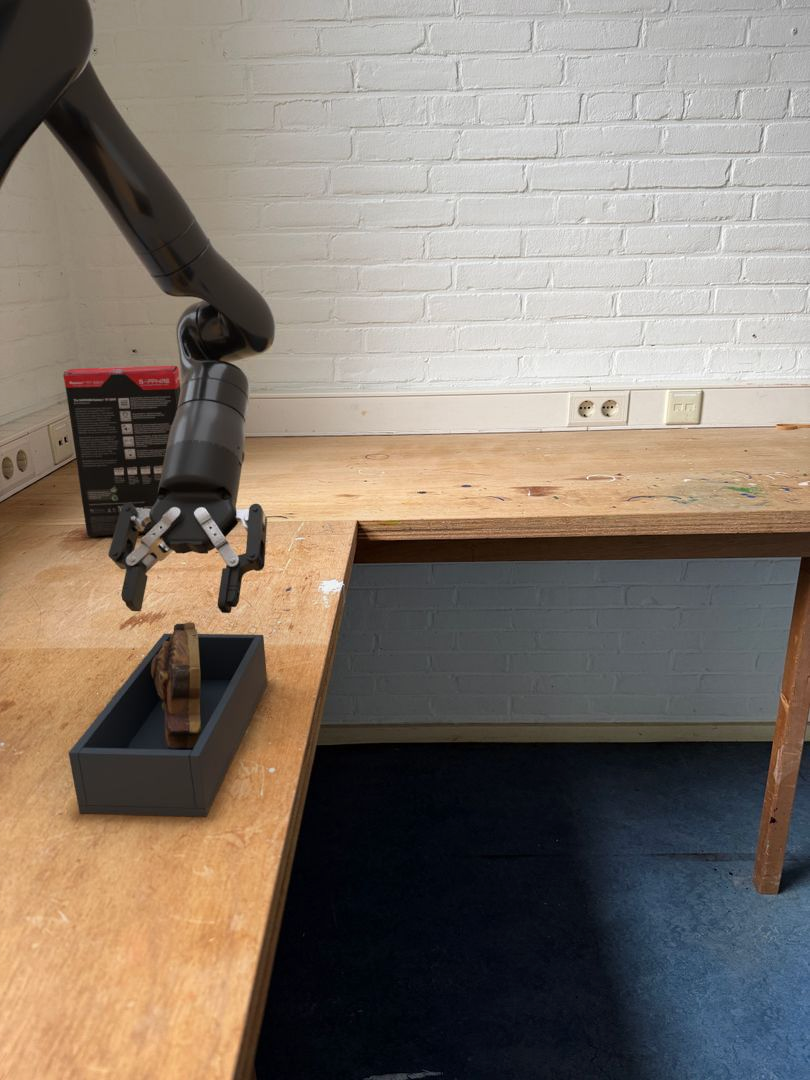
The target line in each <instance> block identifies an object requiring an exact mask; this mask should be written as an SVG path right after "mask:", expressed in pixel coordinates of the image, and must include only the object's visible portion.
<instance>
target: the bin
mask: <svg viewBox="0 0 810 1080" xmlns="http://www.w3.org/2000/svg"><path fill="white" fill-rule="evenodd" d="M172 634H173V633H163V634H162V635H161V636H160V638H159V639H158V640H157V642H155V644H154V645H153V647H152V648H151V649H150V650H149V652H148V653H147V654H146V655H145V656H144V658H143V659H142V660H141V661H140V663H139V664H138V665H137V666H136V667H135V669H134V670H133V672H132V673H131V674H130V675H129V677H128V678H127V679H126V680H125V682H123V684H122V685H121V687H120V688H118V690H117V691H116V693H115V694H114V695H113V696H112V698H111V699H110V700H109V702H108V703H107V704H106V705H105V707H104V708H103V709H102V710H101V711H100V712H99V714H97V716H96V718H95V719H94V720H93V722H92V723H91V724H90V725H89V726H88V728H87V729H86V730H85V731H84V732H83V734H82V735H81V736H80V738H79V739H78V740H77V741H76V742H75V744H74V745H73V746H72V748H71V749H70V750H69V751H68V758H69V763H70V764H69V765H70V768H71V774H72V780H73V785H74V790H75V791H74V792H75V796H76V802H77V806H78V807H77V808H78V812H79V814H91V815H93V814H94V815H123V816H124V815H127V816H128V815H129V816H160V817H161V816H163V817H164V816H166V817H168V816H169V817H195V818H201V817H202V818H206V817H207V816H208V815H209V812H210V810H211V807H212V805H213V803H214V802H215V799H216V797H217V795H218V792H219V790H220V788H221V786H222V784H223V782H224V779H225V778H226V775H227V773H228V771H229V768H230V766H231V764H232V762H233V760H234V758H235V756H236V753H237V751H238V750H239V747H240V744H241V743H242V740H243V738H244V736H245V733H246V731H247V730H248V727H249V725H250V723H251V721H252V719H253V716H254V714H255V712H256V709H257V707H258V705H259V703H260V701H261V699H262V697H263V694H264V692H265V690H266V688H267V686H268V674H267V662H266V661H267V659H266V650H265V639H264V634H248V633H247V634H241V633H240V634H238V633H237V634H235V633H224V634H223V633H197V635H198V643H199V659H200V678H201V679H200V719H201V732H200V738H199V739H198V741H197V743H196V745H195V747H194V749H187V748H176V749H169V748H168V747H167V745H166V739H165V711H164V710H163V708H162V704H163V702H164V701H163V700H162V699H161V698H160V696H159V695H158V692H157V689H156V686H155V681H154V679H153V678H152V674H151V664H152V660H153V658H154V657H155V655H156V654H158V653H159V651H160V650H161V648H162V646H163V643H164V642H165V641H170V638H171V636H172Z"/></svg>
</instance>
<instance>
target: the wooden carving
mask: <svg viewBox="0 0 810 1080" xmlns="http://www.w3.org/2000/svg"><path fill="white" fill-rule="evenodd" d="M171 634H172V636H171V638H170V641H165V642H164V643H163V646H162V648H161V650H160V651H159V653H158V654H156V655H155V657H154V658H153V660H152V664H151V674H152V678H153V679H154V681H155V686H156V689H157V692H158V695H159V696H160V698H161V699H162V700H163V701H164V702H163V704H162V708H163V710H164V711H165V739H166V745H167V747H168V748H169V749H176V748H187V749H194V747H195V745H196V743H197V741H198V739H199V738H200V732H201V719H200V679H201V678H200V659H199V643H198V635H197V634H198V630H197V628H196V623H195V622H192V621H191V622H184V623H175V624H174V625H173V632H172V633H171Z"/></svg>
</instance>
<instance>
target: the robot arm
mask: <svg viewBox="0 0 810 1080" xmlns="http://www.w3.org/2000/svg"><path fill="white" fill-rule="evenodd" d="M94 19H95V18H94V14H93V10H92V7H91V4H90V1H89V0H0V191H1V190H2V188H3V186H4V183H5V182H6V179H7V178H8V175H9V173H10V171H11V169H12V167H13V165H14V163H15V162H16V160H17V159H18V157H19V156H20V154H21V153H22V151H23V149H24V148H25V146H26V145H27V144H28V142H29V141H30V139H31V138H32V137H33V135H34V134H35V133H36V131H38V129H39V128H40V126H42V124H43V125H45V127H46V128H47V129H48V130H49V133H51V135H52V136H53V137H54V138H55V140H56V141H57V142H58V143H59V144H60V146H61V147H62V149H63V150H64V151H65V153H66V154H67V155H68V156H69V158H70V159H71V161H72V162H73V164H74V165H75V166H76V168H77V170H78V171H79V172H80V173H81V175H82V176H83V178H84V179H85V181H86V182H87V183H88V185H89V187H90V188H91V189H92V191H93V193H94V194H95V196H96V197H97V199H98V201H99V202H100V203H101V205H102V206H103V208H104V210H105V211H106V212H107V214H108V215H109V217H110V219H111V220H112V222H113V224H115V226H116V227H117V229H118V230H119V232H120V234H121V235H122V237H123V238H124V239H125V241H126V243H127V244H128V246H129V247H130V248H131V250H132V251H133V253H134V254H135V255H136V257H137V259H138V260H139V261H140V263H141V265H142V266H143V267H144V268H145V270H146V271H147V273H148V274H149V276H150V277H151V279H152V280H153V281H154V283H155V284H156V286H157V287H158V288H159V289H160V290H161V291H162V292H163V293H164V294H166V295H168V296H170V297H177V298H197V299H200V301H196V302H194V303H192V304H190V305H188V306H187V307H186V308H185V309H184V310H183V311H182V312H181V314H180V316H179V318H178V320H177V322H176V327H175V337H176V344H177V349H178V350H177V351H178V359H179V367H180V377H181V384H180V395H179V400H178V405H177V411H176V415H175V418H174V421H173V423H172V426H171V429H170V433H169V437H168V443H167V448H166V453H165V458H164V463H163V468H162V473H161V478H160V483H159V488H158V498H157V501H156V503H155V504H154V506H153V507H152V508H151V509H143V508H135V507H134V506H133V504H132V503H125V504H124V505H123V506H122V508H121V511H120V515H119V518H118V522H117V525H116V529H115V532H114V535H112V536H113V537H112V540H111V544H110V547H109V549H108V557H109V559H111V561H112V562H113V563H114V564H115V565H116V566H117V567H118V568H119V569H121V570H125V574H124V578H123V579H124V580H123V585H122V589H121V594H120V595H121V600H122V601H123V602H124V603H125V606H126V607H127V608H128V610H130V611H131V612H141V611H142V608H143V605H144V604H143V603H144V598H145V592H146V588H147V582H148V577H149V576H148V575H147V573H149V571H150V570H151V569H152V568H153V567H154V566H155V565H156V564H157V563H158V562H162V561H164V560H165V559H166V558H167V557H168V556H169V555H170V554H171V553H172V552H174V553H175V554H188V553H197V554H204V555H205V554H207V555H208V554H209V552H210V551H213V550H214V549H216V551H217V552H218V553H219V556H220V557H221V558H222V560H223V562H224V563H225V564H226V566H225V567H223V568H222V570H221V575H220V582H219V589H218V596H217V608H218V609H219V610H220V612H221V613H222V614H231V613H232V609H233V608H236V607H237V606H238V604H239V602H240V596H241V595H240V594H241V588H242V581H243V577H244V575H245V574H246V573H248V572H251V571H255V572H259V571H262V570H264V567H265V565H266V563H265V562H266V561H265V560H266V546H267V545H266V543H267V529H268V528H267V527H268V517H267V516H266V513H265V511H264V509H263V507H262V505H261V504H259V503H252V504H251V505H250V506H249V508H237V502H238V496H239V495H238V494H239V490H240V484H241V483H240V481H241V475H242V469H243V463H244V462H245V454H246V453H245V447H246V424H247V418H248V411H249V403H250V396H251V383H250V380H249V378H248V376H247V374H246V373H245V371H244V370H243V369H241V368H240V367H239V366H238V365H235V364H233V363H234V362H236V361H241V360H244V359H249V358H253V357H257V356H259V355H262V354H264V353H266V352H268V351H269V350H270V349H271V348H272V346H273V345H274V342H275V339H276V337H277V325H276V323H277V322H276V318H275V315H274V313H273V311H272V308H271V307H270V304H269V303H268V301H267V300H266V298H265V297H264V296H263V294H262V293H261V292H260V291H259V290H258V289H257V288H256V287H255V286H254V285H253V284H252V283H251V282H250V281H249V280H248V279H247V278H246V277H245V276H244V275H242V273H241V272H240V271H239V270H238V269H237V268H235V266H233V265H232V263H230V261H229V260H227V259H226V257H224V255H222V254H221V253H220V251H218V250H217V248H216V247H215V246H214V244H213V243H212V241H211V239H210V238H209V236H208V234H207V233H206V231H205V230H204V228H203V226H202V225H201V223H200V222H199V219H198V218H197V217H196V215H195V213H194V212H193V210H192V209H191V207H190V206H189V204H188V202H187V201H186V200H185V198H184V196H183V195H182V193H181V192H180V190H179V189H178V187H177V186H176V185H175V183H174V182H173V181H172V180H171V178H170V176H169V175H167V173H166V172H165V170H164V169H163V168H162V167H161V165H160V164H159V163H158V162H157V161H156V159H155V158H154V157H153V155H151V153H150V152H149V150H148V149H147V148H146V146H145V145H144V144H143V143H142V142H141V140H140V139H139V137H137V135H136V134H135V133H134V131H133V130H132V128H130V127H131V126H129V124H128V123H127V122H126V120H125V118H124V117H123V116H122V114H121V113H120V112H119V110H118V108H117V107H116V105H115V104H114V102H113V101H112V99H111V97H110V96H109V94H108V92H107V91H106V89H105V87H104V86H103V85H104V84H102V82H101V80H100V78H99V75H98V73H97V72H96V70H95V68H94V66H93V64H92V62H91V60H90V59H91V56H92V52H93V49H94V43H95V21H94ZM149 522H152V523H153V525H154V527H153V528H152V529H151V530H150V531H149V532H148V533H145V535H144V536H142V538H141V540H140V543H139V545H138V546H137V547H136V545H137V542H138V538H139V535H140V534H139V531H143V530H144V528H145V525H146V524H147V523H149ZM239 523H241V525H242V527H243V529H244V531H245V532H247V534H246V545H245V546H246V547H245V548H246V549H245V553H242V554H239V555H237V553H236V552H235V550H234V549H233V548H232V546H231V544H230V543H229V542H228V539H227V538H226V537H227V536H228V535H229V534H230V533H231V532H232V531H233V530H234V529H235V528H236V527H237V526H238V524H239ZM161 540H162V541H161ZM160 541H161V543H159V542H160Z"/></svg>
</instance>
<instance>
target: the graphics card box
mask: <svg viewBox="0 0 810 1080" xmlns="http://www.w3.org/2000/svg"><path fill="white" fill-rule="evenodd" d="M179 370H180V369H179V367H178V366H177V365H163V366H162V365H155V366H153V365H152V366H151V365H150V366H120V367H119V366H117V367H115V366H114V367H113V366H112V367H91V368H89V367H86V368H69V369H68V370H65V371H63V374H62V377H63V380H64V381H63V382H64V388H65V394H66V401H67V407H68V414H69V421H70V427H71V433H72V441H73V446H74V447H73V448H74V452H75V453H74V454H75V457H76V458H75V459H76V466H77V474H78V482H79V490H80V496H81V504H82V510H83V517H84V525H85V531H86V536H87V537H102V536H114V532H115V529H116V525H117V522H118V518H119V515H120V511H121V508H122V506H123V505H124V504H125V503H132V504H133V506H134V507H135V508H143V509H151V508H152V507H153V506H154V504H155V503H156V501H157V498H158V488H159V483H160V478H161V473H162V468H163V463H164V458H165V453H166V448H167V443H168V437H169V433H170V429H171V426H172V423H173V421H174V418H175V415H176V411H177V405H178V400H179V395H180V390H181V379H180V371H179ZM153 527H154V525H153V523H152V522H149V523H147V524H146V525H145V528H144V530H143V531H139V535H141V534H147V533H148V532H149V531H150V530H151V529H152V528H153Z"/></svg>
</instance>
